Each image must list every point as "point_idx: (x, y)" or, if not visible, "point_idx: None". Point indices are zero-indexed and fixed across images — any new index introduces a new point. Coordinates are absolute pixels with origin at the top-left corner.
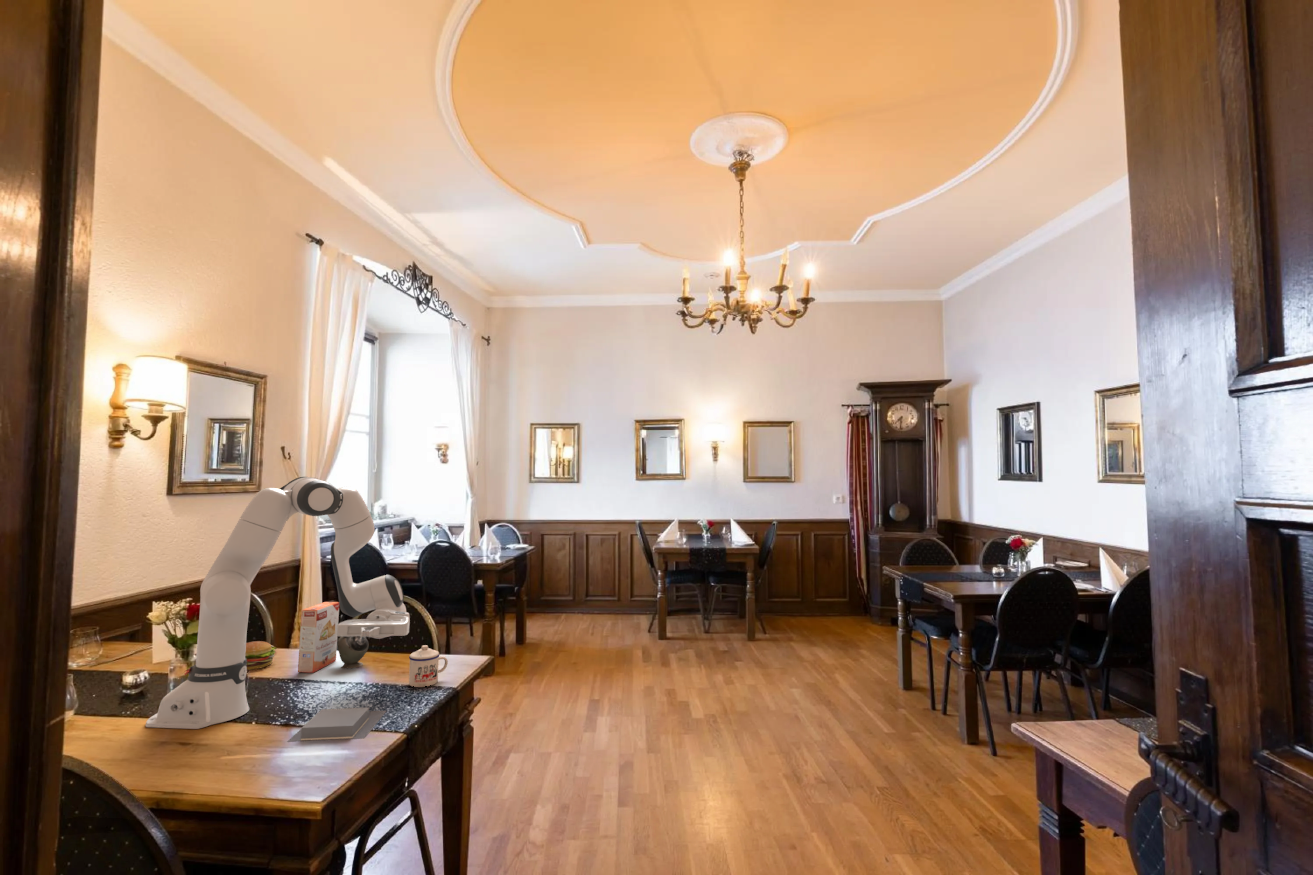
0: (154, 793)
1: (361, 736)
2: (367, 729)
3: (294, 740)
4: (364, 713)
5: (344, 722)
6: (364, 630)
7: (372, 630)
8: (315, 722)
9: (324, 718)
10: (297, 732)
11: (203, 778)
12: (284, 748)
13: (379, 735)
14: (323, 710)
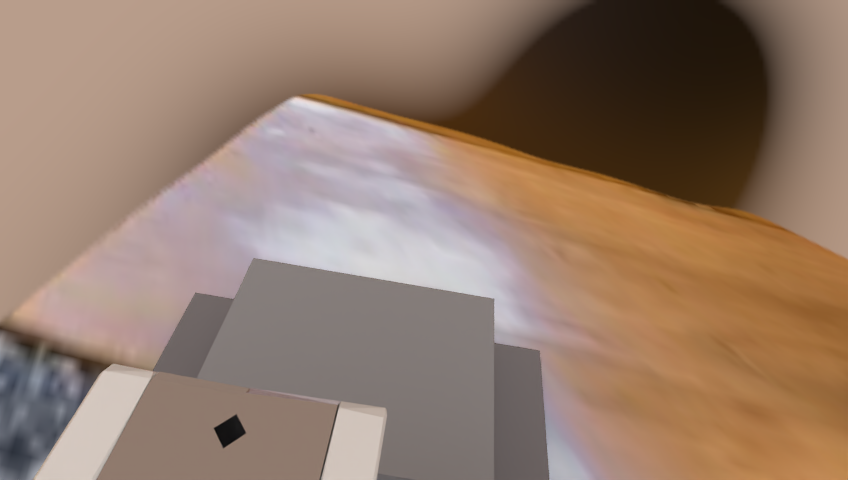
0: (731, 209)
1: (209, 310)
2: (180, 366)
3: (511, 353)
4: (199, 375)
5: (299, 296)
6: (297, 441)
7: (57, 451)
8: (450, 332)
9: (420, 361)
10: (542, 426)
11: (665, 234)
12: (525, 330)
13: (121, 327)
14: (472, 469)
